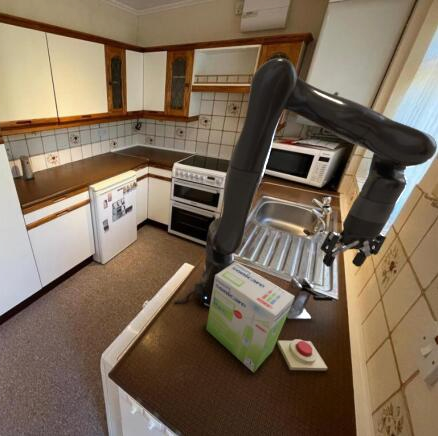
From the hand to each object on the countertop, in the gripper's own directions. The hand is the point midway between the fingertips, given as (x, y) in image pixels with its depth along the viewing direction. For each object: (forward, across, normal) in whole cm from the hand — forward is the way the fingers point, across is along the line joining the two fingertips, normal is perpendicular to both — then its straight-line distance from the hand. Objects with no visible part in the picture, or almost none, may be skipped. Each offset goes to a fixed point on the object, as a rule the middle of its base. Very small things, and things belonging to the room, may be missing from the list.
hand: (341, 264), depth 67 cm
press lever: (+14, +2, -2) cm, 15 cm away
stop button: (+23, +10, +11) cm, 27 cm away
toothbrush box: (+27, +26, +5) cm, 38 cm away
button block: (+26, +10, +11) cm, 30 cm away
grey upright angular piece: (+26, +2, -7) cm, 27 cm away
